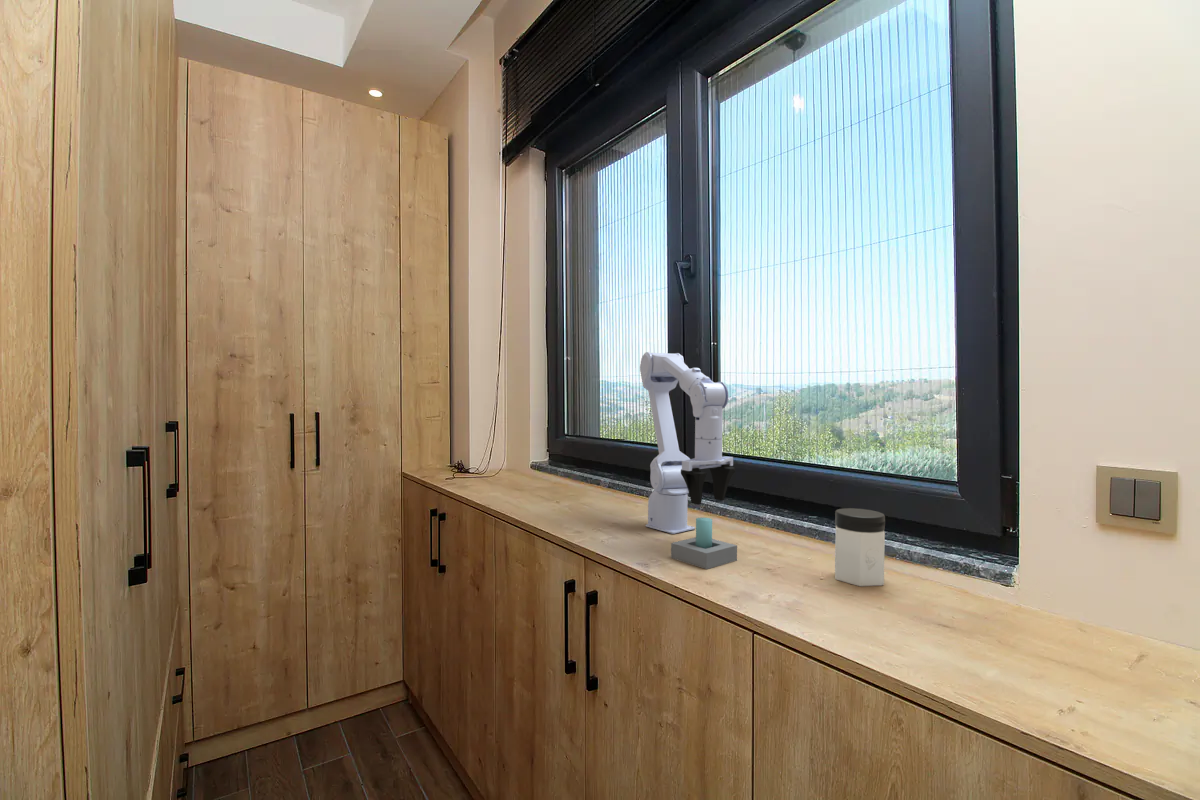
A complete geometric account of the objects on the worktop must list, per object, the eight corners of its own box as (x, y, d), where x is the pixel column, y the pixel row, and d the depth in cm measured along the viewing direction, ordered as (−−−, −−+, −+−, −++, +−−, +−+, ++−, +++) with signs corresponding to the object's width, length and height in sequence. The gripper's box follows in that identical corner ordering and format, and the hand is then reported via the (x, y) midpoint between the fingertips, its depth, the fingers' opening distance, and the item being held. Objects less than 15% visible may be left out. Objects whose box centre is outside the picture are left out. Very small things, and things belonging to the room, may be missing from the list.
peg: (692, 558, 113) (692, 518, 113) (703, 555, 115) (703, 516, 115) (704, 562, 111) (704, 521, 111) (715, 559, 113) (715, 519, 113)
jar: (848, 587, 97) (849, 518, 97) (823, 572, 105) (824, 508, 105) (896, 585, 98) (897, 517, 98) (868, 571, 106) (869, 507, 106)
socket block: (671, 557, 114) (671, 542, 114) (701, 550, 120) (701, 535, 119) (706, 569, 107) (706, 553, 107) (736, 560, 112) (737, 545, 112)
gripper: (700, 441, 113) (699, 509, 113) (744, 438, 122) (744, 500, 123) (674, 438, 119) (674, 503, 119) (719, 435, 128) (718, 495, 128)
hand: (707, 501), depth 121 cm, fingers open, 7 cm apart
